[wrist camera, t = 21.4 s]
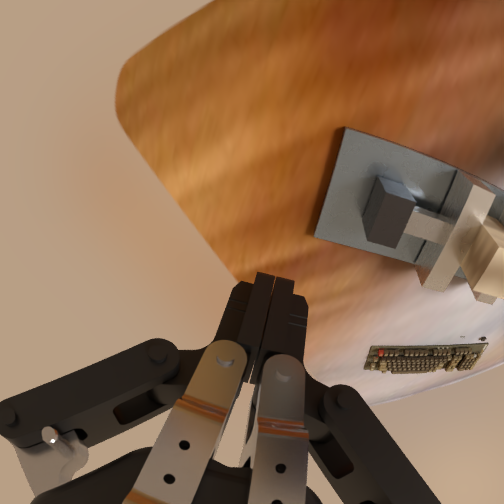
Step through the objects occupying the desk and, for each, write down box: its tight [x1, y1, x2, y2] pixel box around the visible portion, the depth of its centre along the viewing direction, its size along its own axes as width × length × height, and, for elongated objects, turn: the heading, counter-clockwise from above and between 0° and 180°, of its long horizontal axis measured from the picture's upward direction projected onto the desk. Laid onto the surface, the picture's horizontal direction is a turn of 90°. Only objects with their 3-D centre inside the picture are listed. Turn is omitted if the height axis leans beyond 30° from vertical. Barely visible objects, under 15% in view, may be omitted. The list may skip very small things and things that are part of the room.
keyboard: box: [364, 336, 488, 374], centre depth 41 cm, size 22×9×2 cm, turn 94°
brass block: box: [460, 215, 504, 299], centre depth 25 cm, size 5×5×8 cm
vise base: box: [314, 127, 504, 304], centre depth 27 cm, size 12×25×5 cm, turn 81°
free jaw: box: [362, 170, 496, 292], centre depth 27 cm, size 12×11×4 cm
